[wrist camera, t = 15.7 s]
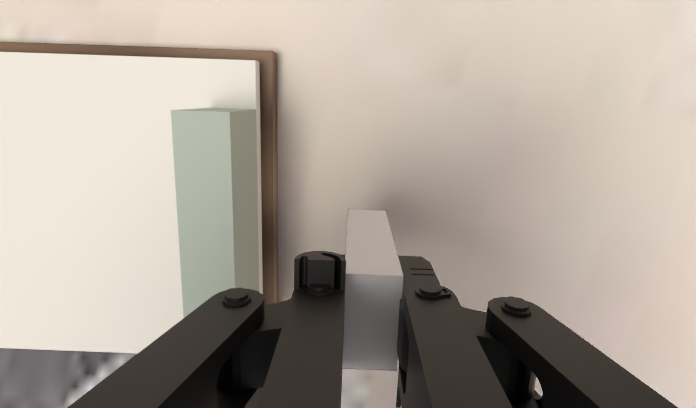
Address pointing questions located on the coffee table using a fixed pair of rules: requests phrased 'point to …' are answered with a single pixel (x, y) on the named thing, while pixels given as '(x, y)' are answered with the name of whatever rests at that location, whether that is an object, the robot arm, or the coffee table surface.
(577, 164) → the coffee table surface
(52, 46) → the puzzle board
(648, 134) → the coffee table surface
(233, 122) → the sliding cover
